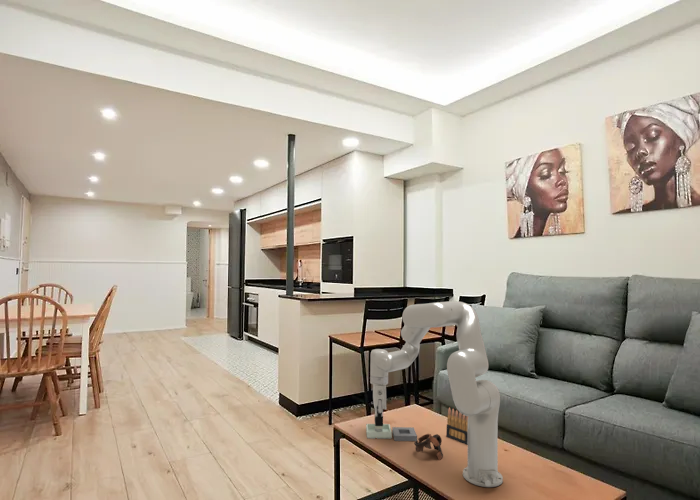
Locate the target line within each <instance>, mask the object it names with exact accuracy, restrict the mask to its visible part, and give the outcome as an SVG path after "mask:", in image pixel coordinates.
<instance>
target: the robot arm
mask: <svg viewBox="0 0 700 500" xmlns="http://www.w3.org/2000/svg"><path fill="white" fill-rule="evenodd" d="M401 317H402V322H403V325H404V326H403V327H402V329H401V330H400V336H401V338H402V339H403V341H404V342H405V343H404V345H403V346H402V348H401V349H400V350H395V351H390V352H389V351H388V350H386V349H382V348H375V349H372V350H371V352H370V363H369V364H370V372H369V373H370V374H369V375H370V377H369V379H370V381H369V382H370V384H371V385H372V400H373V406H374V410H375V409H376V416H375V415H374V424H375V426H383V424H384V415H383V413H384V410H387V385H388V384H389V373H392V372H395V371H400V370H404V369H405V370H406V369H407V368H409V367H411V365H412V364H413V362H414V361H415V360H416V358H417V357H418V356H419V353H420V347H421V345H420V343H421V342H422V340H423V339H424V337H425V336H426V334H427V333H428V332H429V330H430V329H432V328H442V327H449V326H456V327H457V329H456V342H457V345H458V350H457V351H454V352H452V353H450V355H449V357H448V359H447V363H446V372H447V376H448V380H449V381H448V382H449V385H450V386H449V387H450V391H451V396H452V400H453V403H454V405H455V406H454V407H456V410H457V411H458V413H459V412H460V413H461V414H462V416H463V415H465V417H466V416H468V445H467V466H466V467H464V468H463V469H462V477H463V478H464V480H465V481H467V482H469V483H470V484H472V485H475V486H478V487H483V488H495V487H498V486H500V485H502V484H503V482H504V478H503V474H501V472H499V471H498V469H499V468H498V466H499V465H498V462H499V460H498V458H499V457H498V453H499V451H498V449H499V448H498V428H499V427H498V426H499V425H498V423H499V413H500V412H499V411H500V403H501V393H500V391H499V388H498V387H497V385H496V384H495V383H494V382H492V381H491V380H487V379H479V380H476V378H477V377H478V378H479V377H481V376H483V375H484V374H486V373H487V372H488V370H489V360H488V355H487V351H486V350H487V349H486V346H485V343H484V339H483V338H484V337H483V336H482V331H481V325H480V320H479V316H478V313H477V312H476V310H475V309H474V308H473V306H471V305H470V304H469V303H466V302H463V301H458V300H455V301H454V300H453V301H452V300H451V301H450V300H449V301H440V302H439V301H437V302H429V303H416V304H410V305H408V306H407V307H405V308H404V309H403V312H402V316H401ZM377 407H378V408H377ZM377 410H378V412H377Z"/></svg>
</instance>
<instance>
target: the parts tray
mask: <svg viewBox="0 0 700 500" xmlns="http://www.w3.org/2000/svg"><path fill="white" fill-rule="evenodd" d="M365 426H366V427H365V431H366V432H365V433H366V439H375V438H377V439H381V440H383V439H385V440H387V439H389V440H392V439H393V437H392V436H393V433H392V428H391V424H390V423H383V426H382V427H383V431H382V432H376V431H375V423H366V425H365Z"/></svg>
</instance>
